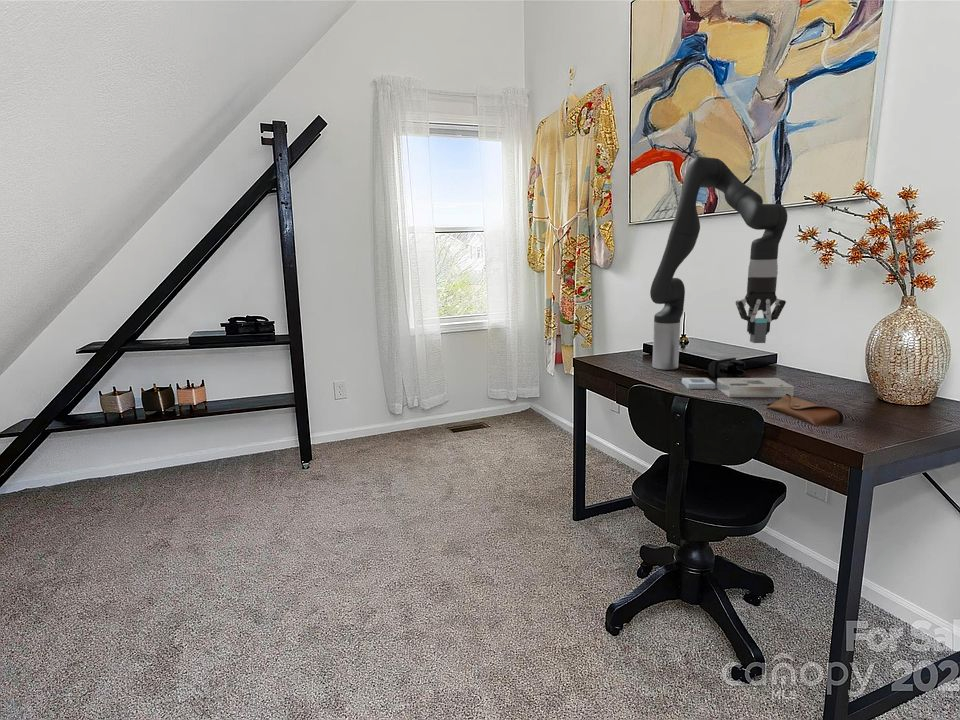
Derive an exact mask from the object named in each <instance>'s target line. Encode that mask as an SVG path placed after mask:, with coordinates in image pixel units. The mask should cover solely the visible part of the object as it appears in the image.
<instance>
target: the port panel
mask: <svg viewBox="0 0 960 720" xmlns="http://www.w3.org/2000/svg"><path fill="white" fill-rule="evenodd" d="M716 378H717V379H716V388H717V389H718V390H719V391H721V392H722V393H723V394H724V395H726V396H728V397H729V398H782V397H784V396H786V394H790V395H791V396H794V393H795V386H794V385H791V384H789V383H788V382H786V381H784V380H782V379H781V378H779V377H732V378H720V377H716ZM794 397H795V396H794Z"/></svg>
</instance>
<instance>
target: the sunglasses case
mask: <svg viewBox="0 0 960 720" xmlns="http://www.w3.org/2000/svg"><path fill="white" fill-rule="evenodd" d="M766 408H767V410H769V409H770V411H772V412H773V411H774V412H777V413H779V414H781V415H785V416H787V417H790V416H791V417H790V418H794V419H796V420H798V421H801V422H805V423H807V424H809V425H812V426H814V427H822V426H830V425H836V424H837V425H838V424H842V423H843V422H844V415H843V414H842V412H841V411H840V410H838V409H836V408H833V407H830V406H826V405H825V406H824V405H822V404H818V403H816V402H812V401H809V400H807V399H803V398H800V397H796V396H791V395H790V394H786V396H784V397H780V398H779V399H778V400H776V401H774V402H773V403H771V404H770V405H769V406H767V407H766V406H765V409H766Z"/></svg>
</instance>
